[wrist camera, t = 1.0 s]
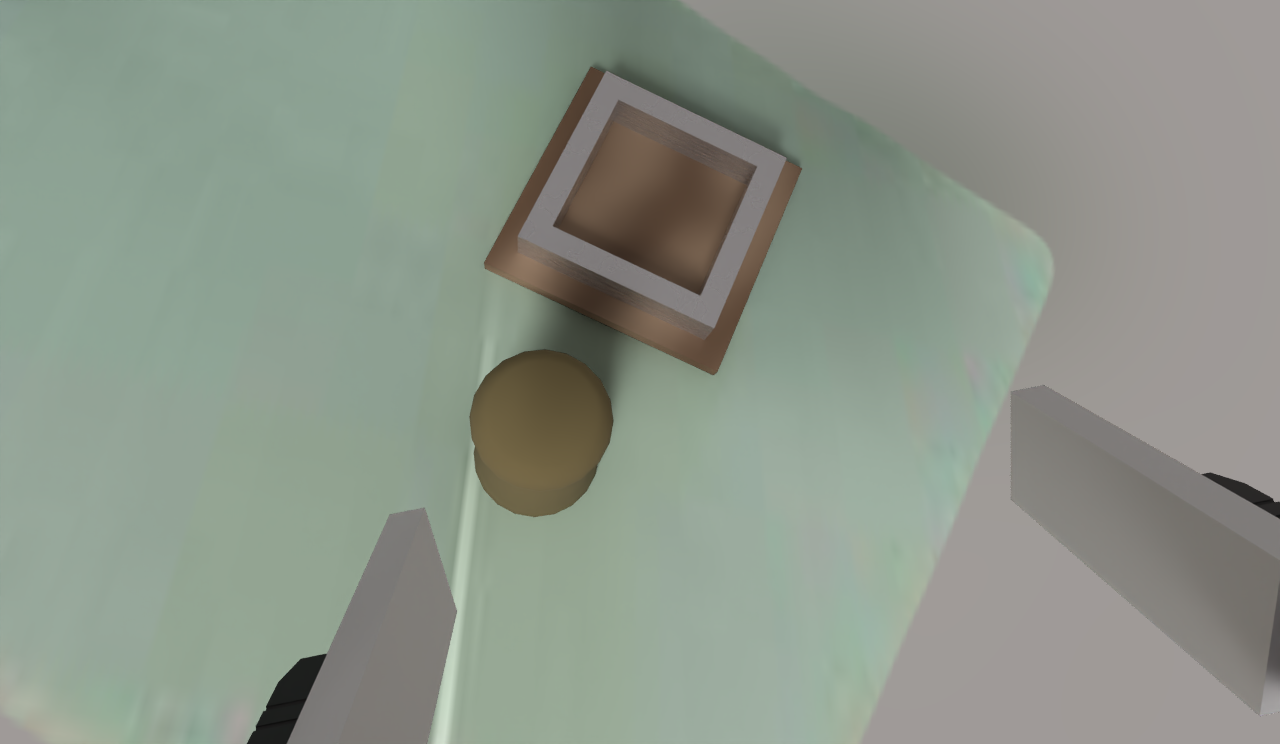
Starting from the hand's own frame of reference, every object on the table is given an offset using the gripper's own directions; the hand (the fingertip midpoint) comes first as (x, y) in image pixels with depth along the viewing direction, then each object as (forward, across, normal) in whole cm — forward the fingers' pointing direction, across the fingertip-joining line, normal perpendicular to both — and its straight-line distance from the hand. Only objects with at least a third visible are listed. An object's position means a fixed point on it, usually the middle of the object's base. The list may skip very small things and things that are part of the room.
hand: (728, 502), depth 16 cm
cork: (+19, -7, -7) cm, 21 cm away
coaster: (+26, +1, +3) cm, 26 cm away
